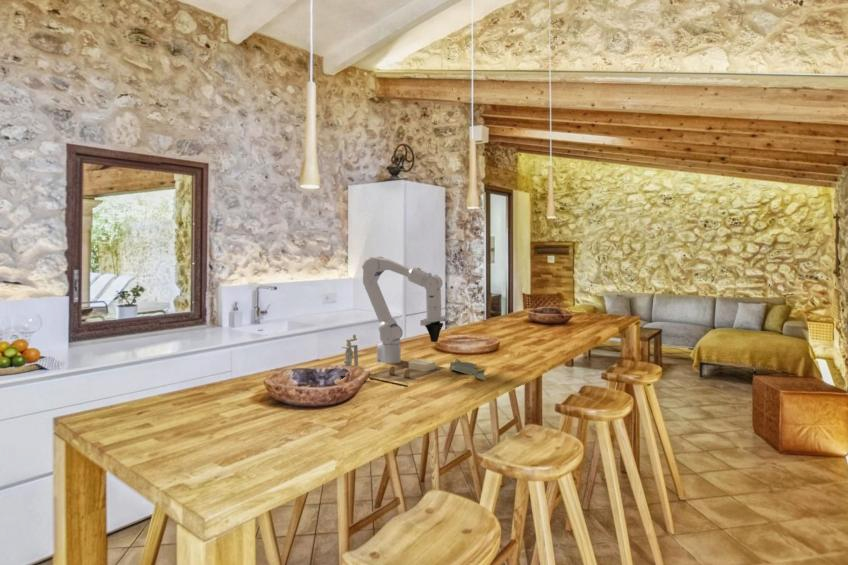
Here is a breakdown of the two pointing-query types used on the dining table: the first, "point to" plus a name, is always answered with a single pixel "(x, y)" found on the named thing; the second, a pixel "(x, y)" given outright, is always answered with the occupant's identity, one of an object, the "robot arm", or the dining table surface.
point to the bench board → (402, 374)
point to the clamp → (351, 352)
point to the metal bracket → (467, 369)
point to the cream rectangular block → (422, 365)
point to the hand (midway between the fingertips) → (434, 341)
